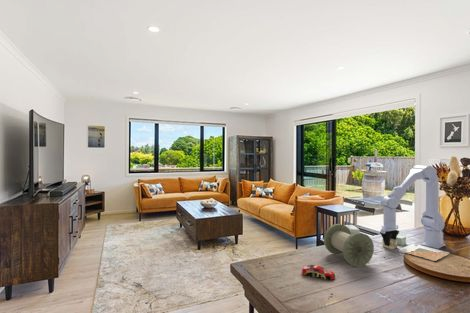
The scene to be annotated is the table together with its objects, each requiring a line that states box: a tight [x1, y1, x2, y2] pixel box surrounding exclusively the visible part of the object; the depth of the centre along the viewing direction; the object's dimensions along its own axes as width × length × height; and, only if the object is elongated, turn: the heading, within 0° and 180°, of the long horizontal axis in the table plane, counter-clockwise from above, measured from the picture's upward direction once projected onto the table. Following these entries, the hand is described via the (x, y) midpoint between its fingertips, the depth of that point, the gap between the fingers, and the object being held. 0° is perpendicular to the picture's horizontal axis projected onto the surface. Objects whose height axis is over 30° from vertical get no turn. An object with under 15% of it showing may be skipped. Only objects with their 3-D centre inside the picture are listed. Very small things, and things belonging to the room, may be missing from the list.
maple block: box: [382, 239, 398, 250], centre depth 143 cm, size 5×5×4 cm
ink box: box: [344, 224, 361, 235], centre depth 140 cm, size 9×5×12 cm, turn 179°
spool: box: [323, 223, 375, 268], centre depth 127 cm, size 16×15×15 cm
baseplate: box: [398, 243, 450, 255], centre depth 134 cm, size 16×16×1 cm
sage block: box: [396, 234, 407, 247], centre depth 148 cm, size 5×5×4 cm
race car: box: [301, 264, 336, 281], centre depth 111 cm, size 13×5×4 cm, turn 65°
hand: (389, 244), depth 143 cm, fingers closed on maple block, 5 cm apart
